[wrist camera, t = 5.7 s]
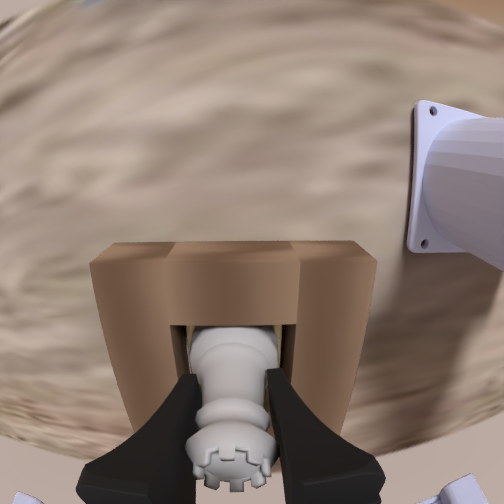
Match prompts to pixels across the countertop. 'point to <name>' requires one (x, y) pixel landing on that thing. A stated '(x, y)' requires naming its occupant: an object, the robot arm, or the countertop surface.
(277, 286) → the socket block
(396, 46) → the countertop surface
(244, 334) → the rook chess piece
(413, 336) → the countertop surface
